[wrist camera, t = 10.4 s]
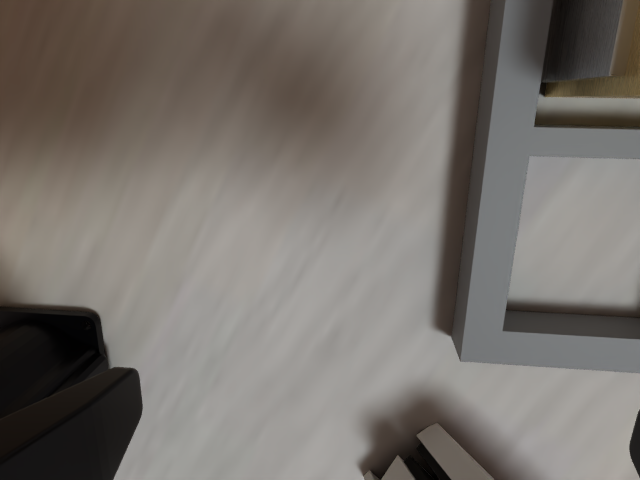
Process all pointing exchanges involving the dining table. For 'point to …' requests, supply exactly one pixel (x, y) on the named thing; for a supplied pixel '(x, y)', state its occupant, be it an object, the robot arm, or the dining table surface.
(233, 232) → the dining table surface
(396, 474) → the grey arched block
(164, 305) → the dining table surface
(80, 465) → the robot arm
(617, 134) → the gray rectangular tray
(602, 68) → the metal-backed wooden cube
